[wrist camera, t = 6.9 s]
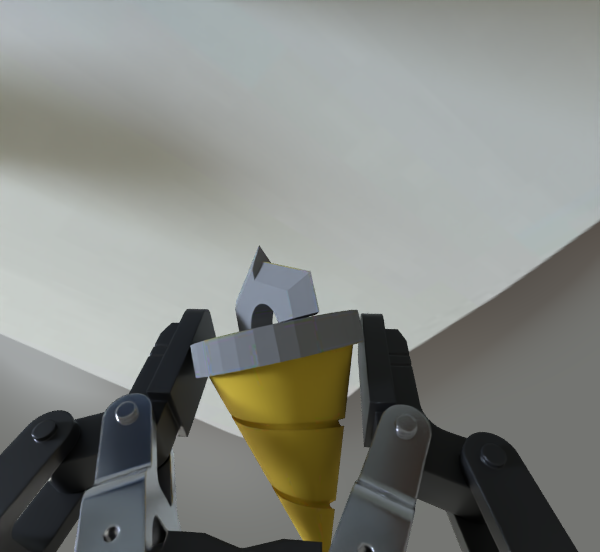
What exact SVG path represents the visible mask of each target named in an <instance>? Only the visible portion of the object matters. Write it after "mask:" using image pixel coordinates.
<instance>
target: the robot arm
mask: <svg viewBox="0 0 600 552" xmlns="http://www.w3.org/2000/svg"><path fill="white" fill-rule="evenodd" d="M360 322H361V326H362V330H363V335H364V340H365V341H363V342H360V343H358V365H359V379H360V393H361V408H362V424H363V438H364V447H370V448H369V451H368V454H367V457H366V459H365V462H364V465H363V468H362V470H361V473H360V475H359V478H358V480H356V481H355V483H354V485H353V487H352V490H351V492H350V495H349V498H348V501H347V503H346V506H345V509H344V512H343V514H342V517H341V519H340V522H339V525H338V527H337V530H336V533H335V535H334V538H333V541H332V544H331V546H330V549H329V552H406V549H407V544H408V540H409V536H410V531H411V527H412V523H413V518H414V513H415V504H416V499H420V500H422V501H424V502H427V503H429V504H431V505H434V506H436V507H438V508H441V509H443V510H445V511H446V512H447V515H448V517H449V520H450V522H451V525H452V527H453V530H454V532H455V535H456V538H457V540H458V542H459V545H460V548H461V550H462V552H578V551H577V549H576V547H575V546H574V544H573V543H572V541H571V539H570V538H569V536H568V534H567V533H566V531H565V529H564V528H563V527H562V525H561V523H560V521H559V520H558V518H557V516H556V515H555V513H554V512H553V510H552V508H551V507H550V505H549V503H548V502H547V500H546V499H545V497H544V495H543V494H542V492H541V490H540V489H539V487H538V485H537V484H536V482H535V481H534V479H533V477H532V476H531V474H530V473H529V471H528V469H527V467H526V466H525V464H524V463H523V461H522V459H521V458H520V456H519V455H518V453H517V452H516V450H515V449H514V448H513V447H512V446H511V445H510V444H509V443H508V442H507V441H505V440H504V439H503V438H501V437H499V436H497V435H494V434H491V433H487V432H478V433H474V434H472V435H471V436H469V437H468V438H465V437H462V436H459V435H456V434H453V433H450V432H447V431H445V430H442V429H441V428H439V427H437V426H436V425H434V424H433V423H432V422H431V421H430V420H428V418H427V417H426V416H425V414H424V413H423V411H422V409H421V406H420V402H419V397H418V392H417V388H416V383H415V379H414V374H413V370H412V366H411V360H410V356H409V351H408V346H407V341H406V340H405V338H404V337H403V336H402V334H401V333H400V332H399V330H398V329H385V326H384V319H383V315H382V314H361V318H360ZM212 338H216V335H215V331H214V327H213V323H212V319H211V315H210V312H209V310H208V309H187V310H186V311H185V312H184V314H183V317H182V319H181V321H180V323H171V324H170V325H169V326H168V327H167V328H166V329H165V330H164V331H163V332H162V333H161V334H160V336H159V338H158V340H157V342H156V343H155V347H153V349H152V351H151V353H150V357H148V359H147V360H146V362H145V364H144V366H143V368H142V370H141V372H140V374H139V376H138V377H137V379H136V381H135V383H134V385H133V387H132V389H131V391H130V393H129V394H127V395H124V396H122V397H120V398H118V399H117V400H115V401H114V402H113V403H112V404H111V405H110V406H109V407H108V408H107V409H106V411H105V412H103V413H100V414H96V415H92V416H88V417H84V418H80V419H75V420H74V418H73V417H72V416H71V414H70V413H68V412H66V411H62V410H60V411H59V410H57V411H52V412H49V413H46V414H44V415H42V416H40V417H38V418H37V419H35V420H34V421H32V422H31V423H30V424H29V425H28V426H27V427H26V428H25V429H24V430H23V431H22V432H21V433H20V434H19V436H18V437H17V438H16V439H15V440H14V441H13V442H12V443H11V444H10V445H9V446H8V447H7V448H6V449H5V450H4V451H3V453H2V454H1V455H0V552H56V551H57V550H58V548H59V547H60V545H61V544H62V542H63V541H64V539H65V538H66V536H67V535H68V533H69V532H70V530H71V529H72V527H73V526H74V525H75V523H76V522H77V520H78V519H79V522H78V529H77V536H76V543H75V550H74V552H322V542H316V541H303V540H288V539H281V540H277V541H273V542H269V543H264V544H260V545H256V546H252V547H247V548H238V547H236V546H234V545H231V544H229V543H227V542H224V541H222V540H219V539H217V538H215V537H212V536H210V535H208V534H206V533H196V532H183V531H181V526H180V522H179V518H178V513H177V503H176V485H175V465H174V452H173V448H172V447H173V444H174V441H175V439H176V436H179V437H188V434H189V431H190V428H191V426H192V423H193V420H194V417H195V414H196V411H197V408H198V405H199V402H200V399H201V396H202V393H203V390H204V387H205V384H206V381H207V378H208V377H202V378H195V372H194V366H193V359H192V353H191V347H190V346H191V345H192V344H195V343H198V342H201V341H205V340H208V339H212ZM46 482H47V483H46ZM45 483H46V484H45ZM44 484H45V485H44ZM43 486H44V487H43ZM42 487H43V488H42ZM41 488H42V489H41ZM40 489H41V490H40ZM39 491H40V492H39ZM38 492H39V493H38ZM37 493H38V494H37ZM35 496H36V497H35ZM34 497H35V498H34ZM33 498H34V499H33ZM32 500H33V501H32ZM31 501H32V502H31ZM30 502H31V503H30ZM29 503H30V504H29ZM28 505H29V506H28ZM27 506H28V507H27ZM26 507H27V508H26ZM25 508H26V509H25ZM24 510H25V511H24ZM23 511H24V512H23ZM22 512H23V514H22ZM20 515H21V516H20ZM19 516H20V517H19ZM18 517H19V518H18ZM17 519H18V520H17ZM16 520H17V521H16Z"/></svg>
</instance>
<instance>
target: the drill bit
mask: <svg viewBox="0 0 600 552" xmlns="http://www.w3.org/2000/svg"><path fill="white" fill-rule="evenodd" d="M235 310H236V316H237V321H238V327H239V332H236V333H232V334H228V335H224V336H220V337H216V338H212V339H208V340H205V341H201V342H198V343H195V344H192V345H191V346H190V347H191V353H192V359H193V366H194V372H195V378H202V377H209V378H210V379H211V381H212V383H213V385H214V386H215V388H216V390H217V392H218V393H219V395H220V397H221V399H222V400H223V402H224V404H225V405H226V407H227V409H228V411H229V412H230V414H231V415H232V418H233V419H234V421H235V423H236V425H237V426H238V428H239V430H240V432H241V433H242V435H243V437H244V439H245V440H246V442H247V444H248V446H249V447H250V449H251V451H252V452H253V454H254V456H255V458H256V459H257V461H258V463H259V465H260V466H261V468H262V470H263V472H264V473H265V475H266V477H267V479H268V480H269V482H270V483H271V485H272V487H273V489H274V491H275V493H276V494H277V496H278V498H279V499H280V501H281V503H282V505H283V506H284V508H285V510H286V512H287V513H288V515H289V517H290V518H291V520H292V522H293V524H294V526H295V527H296V529H297V531H298V533H299V534H300V536H301V538H302V540H303V541H316V542H322V552H329V549H330V546H331V538H332V527H333V520H334V511H335V509H332V508H331V507H330V503H331V502H333V501H335V500H336V492H337V483H338V474H339V466H340V456H341V448H342V439H343V429H344V426H341V425H340V424H339V422H338V420H339V419H343V418H345V412H346V403H347V394H348V385H349V376H350V367H351V358H352V349H353V344H357V343H360V342H363V341H365V340H364V335H363V330H362V326H361V322H360V318H359V314H358V310H348V311H341V312H334V313H328V314H323V315H317V316H313V315H316V314H317V313H318V312H319V308H318V303H317V299H316V294H315V290H314V285H313V281H312V276H311V272H310V271H306V270H301V269H296V268H292V267H287V266H282V265H278V264H273V263H271V262H270V261H269V259H268V258H267V256H266V255H265V253H264V252H263V250H262V249H261V247H260V246H259V247H258V250H257V252H256V254H255V257H254V259H253V262H252V264H251V267H250V269H249V271H248V274H247V276H246V279H245V281H244V284H243V286H242V289H241V291H240V293H239V296H238V298H237V301H236V308H235ZM273 312H274V314H275V316H276V318H277V321H278V323H277V324H272V318H273ZM309 316H312V317H309Z"/></svg>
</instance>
